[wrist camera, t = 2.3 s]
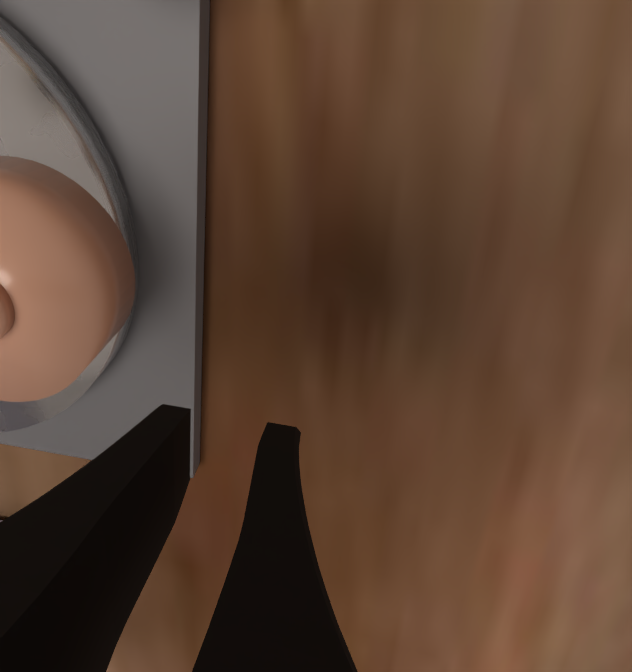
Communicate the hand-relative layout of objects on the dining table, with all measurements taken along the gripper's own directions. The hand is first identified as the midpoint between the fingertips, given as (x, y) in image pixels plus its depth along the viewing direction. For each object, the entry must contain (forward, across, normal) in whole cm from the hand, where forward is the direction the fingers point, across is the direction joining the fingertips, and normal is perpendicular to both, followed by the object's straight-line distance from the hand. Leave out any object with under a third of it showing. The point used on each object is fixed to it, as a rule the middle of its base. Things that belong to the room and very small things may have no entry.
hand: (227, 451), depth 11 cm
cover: (+7, +8, 0) cm, 11 cm away
